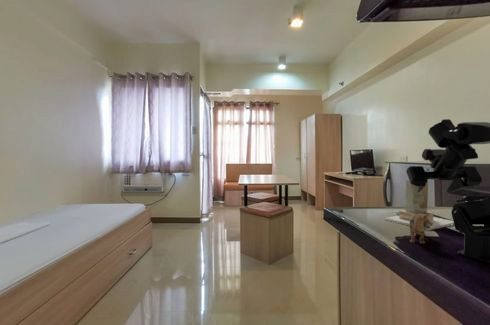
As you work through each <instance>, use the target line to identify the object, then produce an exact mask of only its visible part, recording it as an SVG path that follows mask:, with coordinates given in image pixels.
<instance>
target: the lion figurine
mask: <svg viewBox="0 0 490 325" xmlns="http://www.w3.org/2000/svg"><path fill="white" fill-rule="evenodd" d="M432 225H433V224H432V223H431V222H430V221H429V220H428V219H426V215H424V214H417V215H415V216H414V217H412V219H411V220H410V223H409V229H410V231H409V232H410V234H409V236H410V240H409V242H410V243H415V242H416V239H415V234H417V235H419V242H420V244H426V241H425V236H426V234H425V231H427V230H426V228H427V229H430V227H431V226H432Z"/></svg>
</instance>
